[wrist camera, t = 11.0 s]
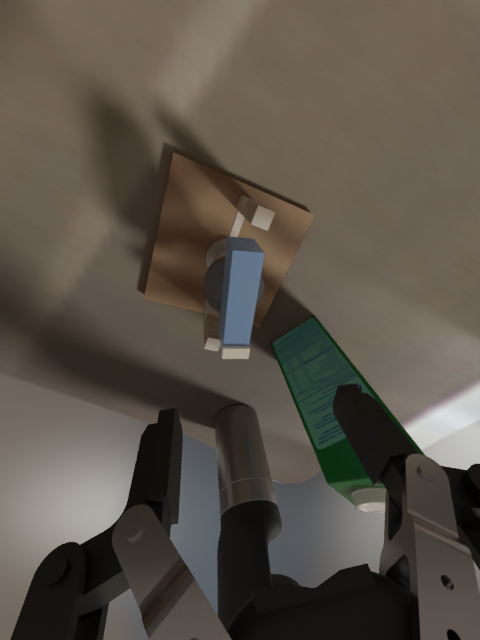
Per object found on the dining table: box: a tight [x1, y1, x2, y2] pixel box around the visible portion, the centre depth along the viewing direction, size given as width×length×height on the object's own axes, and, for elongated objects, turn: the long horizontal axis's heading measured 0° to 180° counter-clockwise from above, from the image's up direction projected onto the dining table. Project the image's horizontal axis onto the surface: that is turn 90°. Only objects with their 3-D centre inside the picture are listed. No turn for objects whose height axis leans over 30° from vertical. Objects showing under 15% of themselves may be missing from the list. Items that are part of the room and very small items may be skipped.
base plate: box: [144, 152, 315, 351], centre depth 28 cm, size 18×18×11 cm
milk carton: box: [271, 316, 425, 513], centre depth 33 cm, size 9×9×25 cm
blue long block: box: [204, 236, 265, 359], centre depth 22 cm, size 6×10×6 cm, turn 173°
